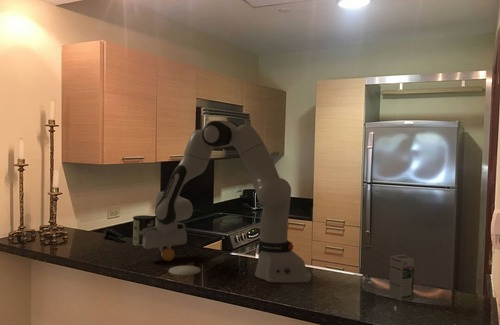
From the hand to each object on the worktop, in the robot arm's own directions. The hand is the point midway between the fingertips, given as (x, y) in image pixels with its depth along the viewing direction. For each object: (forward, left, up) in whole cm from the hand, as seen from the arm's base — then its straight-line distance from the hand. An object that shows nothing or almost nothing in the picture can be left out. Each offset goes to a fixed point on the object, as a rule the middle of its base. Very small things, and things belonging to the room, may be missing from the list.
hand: (164, 255), depth 184 cm
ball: (-3, +4, +2) cm, 5 cm away
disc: (-14, +16, -1) cm, 21 cm away
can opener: (+38, -29, -2) cm, 48 cm away
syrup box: (-96, +31, -1) cm, 101 cm away
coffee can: (+20, -25, -1) cm, 32 cm away
